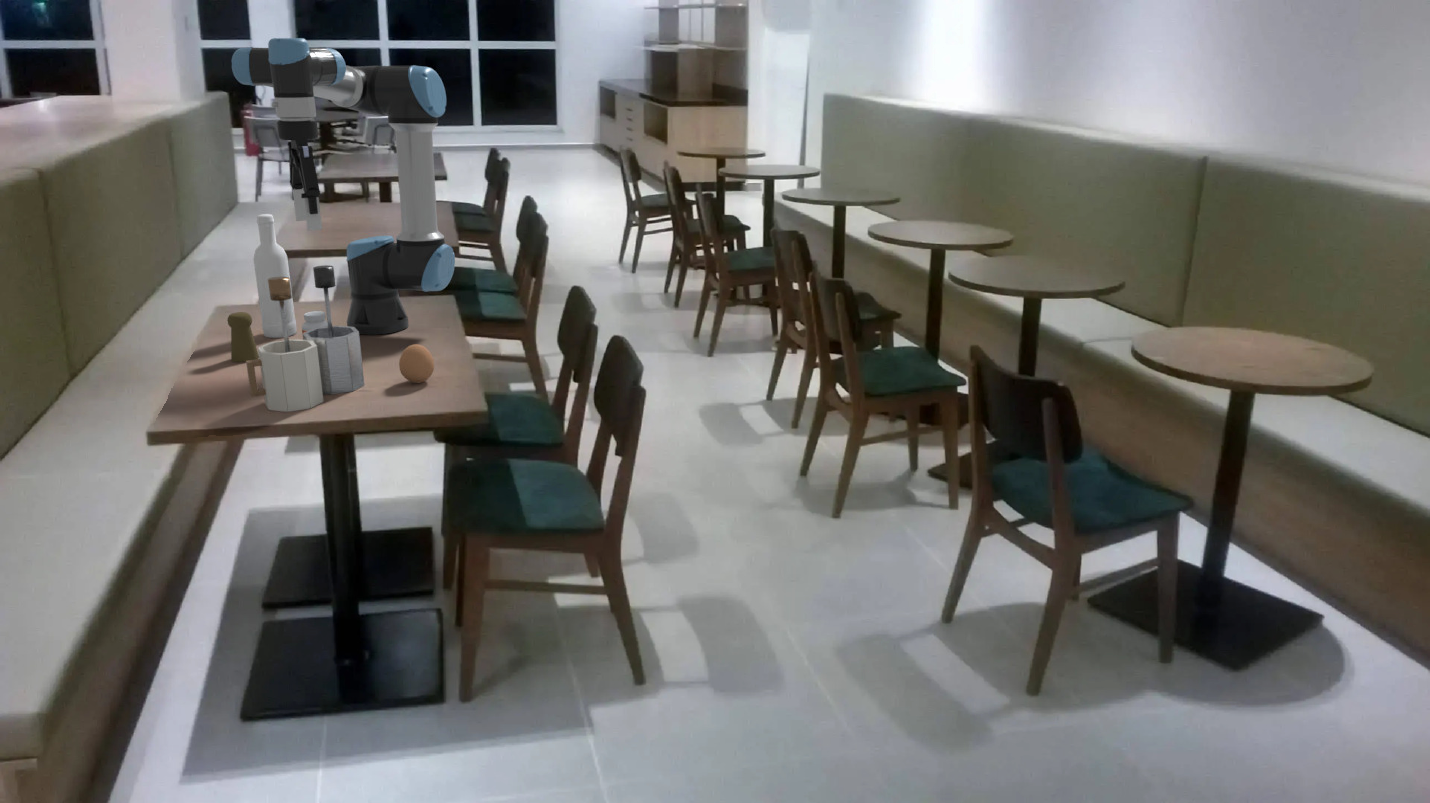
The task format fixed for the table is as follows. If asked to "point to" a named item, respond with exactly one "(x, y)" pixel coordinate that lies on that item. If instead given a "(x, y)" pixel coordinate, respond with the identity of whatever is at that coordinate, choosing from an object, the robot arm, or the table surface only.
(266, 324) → the bottle
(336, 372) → the grey octagonal container
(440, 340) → the table surface
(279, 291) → the plunger
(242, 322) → the cork
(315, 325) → the pill bottle
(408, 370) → the egg
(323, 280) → the plunger
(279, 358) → the white faceted mug
